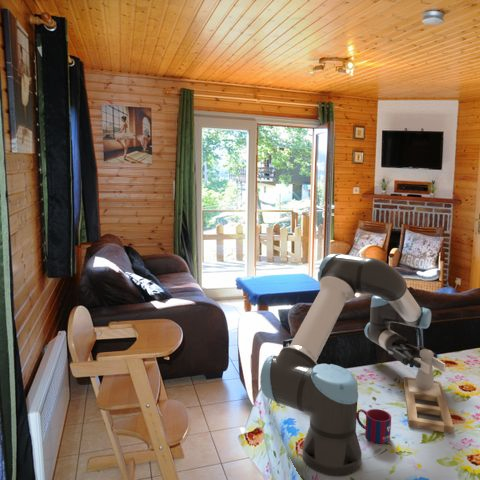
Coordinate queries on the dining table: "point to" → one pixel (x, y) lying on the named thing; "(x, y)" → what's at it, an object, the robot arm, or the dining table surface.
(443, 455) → the dining table surface
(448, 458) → the dining table surface
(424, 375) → the salt shaker
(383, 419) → the mug
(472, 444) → the dining table surface
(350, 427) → the robot arm
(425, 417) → the wooden slotted tray
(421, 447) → the dining table surface
